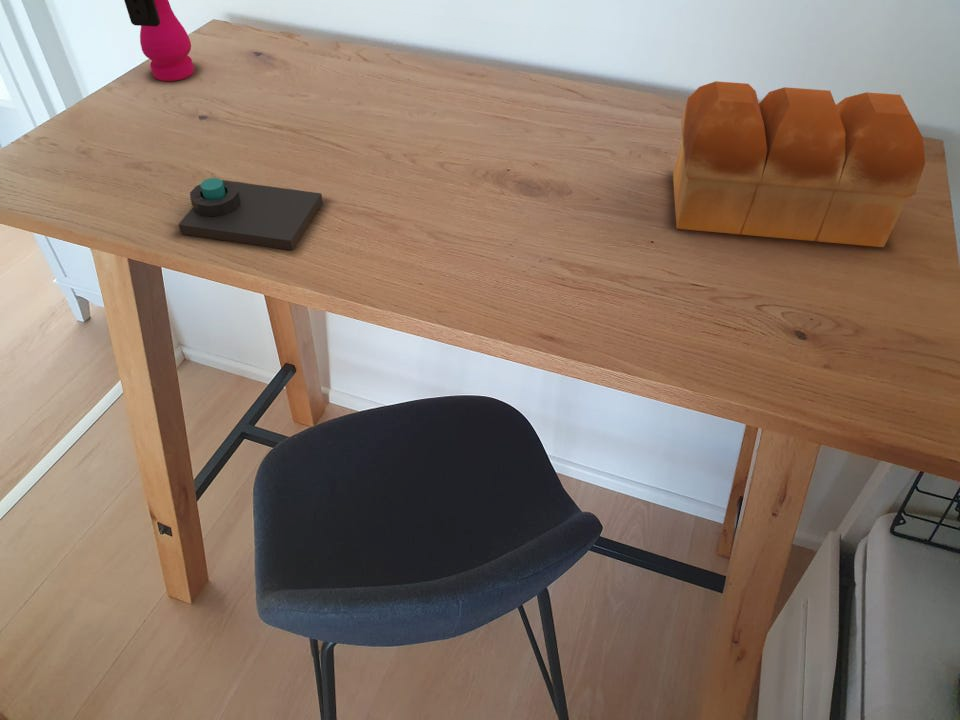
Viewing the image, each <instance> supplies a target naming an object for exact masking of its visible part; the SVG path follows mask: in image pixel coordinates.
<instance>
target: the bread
mask: <svg viewBox="0 0 960 720" xmlns="http://www.w3.org/2000/svg"><path fill="white" fill-rule="evenodd" d="M680 125H681V138H680V143H679V147H678V150H677V155H676V156H677V157H676V160H675V165H674V170H673V174H672V181H673V197H674V209H675V210H674V212H675V224H676V229H677V230H687V231H698V232H710V233H719V234H730V235H744V236H751V237H752V236H753V237H764V238H774V239H785V240H786V239H787V240H797V241H808V242H809V241H810V242H821V243H830V244H831V243H832V244H840V245H841V244H843V245H853V246H863V247H864V246H865V247H873V248H874V247H875V248H885V246H886V245H887V242H888V240H889V237H890V236H891V233H892V231H893V229H894V227H895V226H896V223H897V221H898V219H899V217H900V214H901V213H902V210H903V208H904V206H905V204H906V203H907V201H908V198H910V197H912V196H914V195H916V192H917V189H918V186H919V183H920V180H921V177H922V174H923V171H924V168H925V165H926V158H925V145H924V138H923V135H922V134H921V131H920V129H919V127H918V125H917V123H916V121H915V120H914V118H913V116H912V113H911V112H910V110H909V108H908V105H906V102H905V101H904V99H903V96H902V95H901V94H897V93H896V94H895V93H883V92H881V93H880V92H863V93H862V92H861V93H859V94H854V95H851V96H846V97H845V98H843V99H842V100H841V101H839V102H838V103H836V102H835V98H834V97H833V94H832V92H831V90H828V89H827V90H826V89H812V88H799V87H787V86H784V87H781V88H778V89H775V90H771V91H768V93H767V94H766V95H765V96H764V97H763V98H762V100H761V101H759V99H758V94H757V91H756V90H755V88H754V87H752V85H751V84H750V83H743V82H731V81H717V80H715V81H713V82H709V83H706V84H704V85H701V86H698V88H697V89H695V90H694V92H692V94H691V95H690V96H688V98H687V101H686V104H685V108H684V110H683V114H682V117H681V120H680Z"/></svg>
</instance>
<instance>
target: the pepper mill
mask: <svg viewBox="0 0 960 720" xmlns="http://www.w3.org/2000/svg"><path fill="white" fill-rule="evenodd" d="M154 1H155V5H156V8H157V12H158V15H159V18H160V24H159V25H158V26H140V31H139V43H140V48H141V52H142V53H143V55H144V56H145V57H146V58H147V59H148V60H150V61H151V62H150V63H149V67H150V70H151V73H152V76H153V77H154V79H156V80H159V81H163V82H176V81H180V80H184V79H187V78H189V77H191V76H192V75H193V74H194V73H195V67H194V62H193V60H192V59H193V58H192V57H191V56H189V54H190V53H191V49H192V44H191V39H190V36H189V34H188V32H187V31H186V29H185V27H184V26H183V24H182V23H181V21H179V19H178V17H177V16H176V15H175V13H174V11H173V9H172V7H171V4H170V0H154Z"/></svg>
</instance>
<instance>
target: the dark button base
mask: <svg viewBox="0 0 960 720" xmlns="http://www.w3.org/2000/svg"><path fill="white" fill-rule="evenodd" d="M221 180H222V181H223V185H224V189H225V192H226V194H225V196H223V197H221V198H219V199H215V200H208V199H205V198H204V197H203V194H202V190H201V187H200V185H201V183H199V184H198V185H195V186H194V188H193V189H192V190H191V191H190V192H189V198H190V203H191V205H192V207H191V209H190V210H189V211H188V212H187V213H186V214H185V216H183V218H182V219H181V220H180V222H179V223H178V225H177V226H178V228H179V231H180V234H181V235H186V236H192V237H200V238H206V239H212V240H213V239H214V240H220V241H227V242H231V243H232V242H233V243H240V244H246V245H254V246H261V247H267V248H275V249H282V250H288V251H293V250H294V249H295V247H296V245H298V242H299V241H300V240H301V238H302V236H303V235H304V233H305V232H306V230H307V229H308V227H309V225H310V224H311V222H312V221H313V219H314V218H315V216H316V215H317V213H318V211H319V209H321V207H322V205H323V203H324V202H323V195H322V193H321V192H313V191H306V190H299V189H293V188H286V187H285V188H284V187H277V186H269V185H262V184H255V183H246V182H239V181H233V180H231V181H230V180H227V179H226V180H224V179H221Z"/></svg>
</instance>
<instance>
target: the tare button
mask: <svg viewBox="0 0 960 720" xmlns="http://www.w3.org/2000/svg"><path fill="white" fill-rule="evenodd" d="M222 180H223V179H220V178H218V177H210V178H206V179H204V180H202V181H201V183H200V184H201V185H200V184H199V185H200V187H201V190H202V194H203V197H204V198H205V199H208V200H215V199H219V198H221V197H223V196H225V194H226V192H225V189H224V185H223V181H222Z"/></svg>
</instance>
